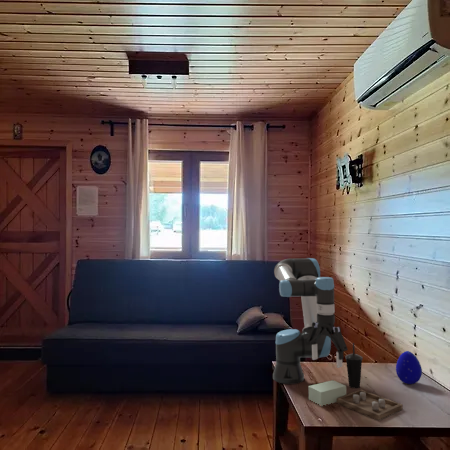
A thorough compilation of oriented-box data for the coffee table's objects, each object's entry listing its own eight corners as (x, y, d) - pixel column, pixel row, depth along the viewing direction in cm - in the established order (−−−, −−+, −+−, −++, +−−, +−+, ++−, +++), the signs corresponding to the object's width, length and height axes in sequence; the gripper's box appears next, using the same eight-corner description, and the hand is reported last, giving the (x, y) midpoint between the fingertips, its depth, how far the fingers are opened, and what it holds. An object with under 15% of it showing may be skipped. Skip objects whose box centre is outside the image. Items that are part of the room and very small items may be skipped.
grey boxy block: (321, 407, 169) (320, 392, 169) (308, 400, 176) (308, 386, 176) (346, 399, 175) (346, 385, 175) (333, 393, 182) (333, 380, 182)
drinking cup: (364, 390, 185) (363, 345, 185) (346, 389, 186) (345, 345, 186) (362, 383, 192) (361, 341, 192) (345, 383, 194) (344, 340, 194)
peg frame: (336, 403, 171) (336, 394, 171) (360, 393, 181) (360, 385, 181) (378, 420, 155) (378, 411, 155) (402, 409, 164) (402, 400, 164)
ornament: (424, 383, 192) (423, 350, 192) (418, 389, 185) (417, 355, 185) (399, 378, 199) (398, 347, 199) (393, 383, 192) (392, 351, 192)
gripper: (298, 310, 184) (299, 357, 184) (343, 319, 164) (344, 372, 163) (310, 308, 188) (311, 354, 188) (355, 316, 168) (356, 368, 168)
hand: (326, 363), depth 176 cm, fingers open, 13 cm apart
